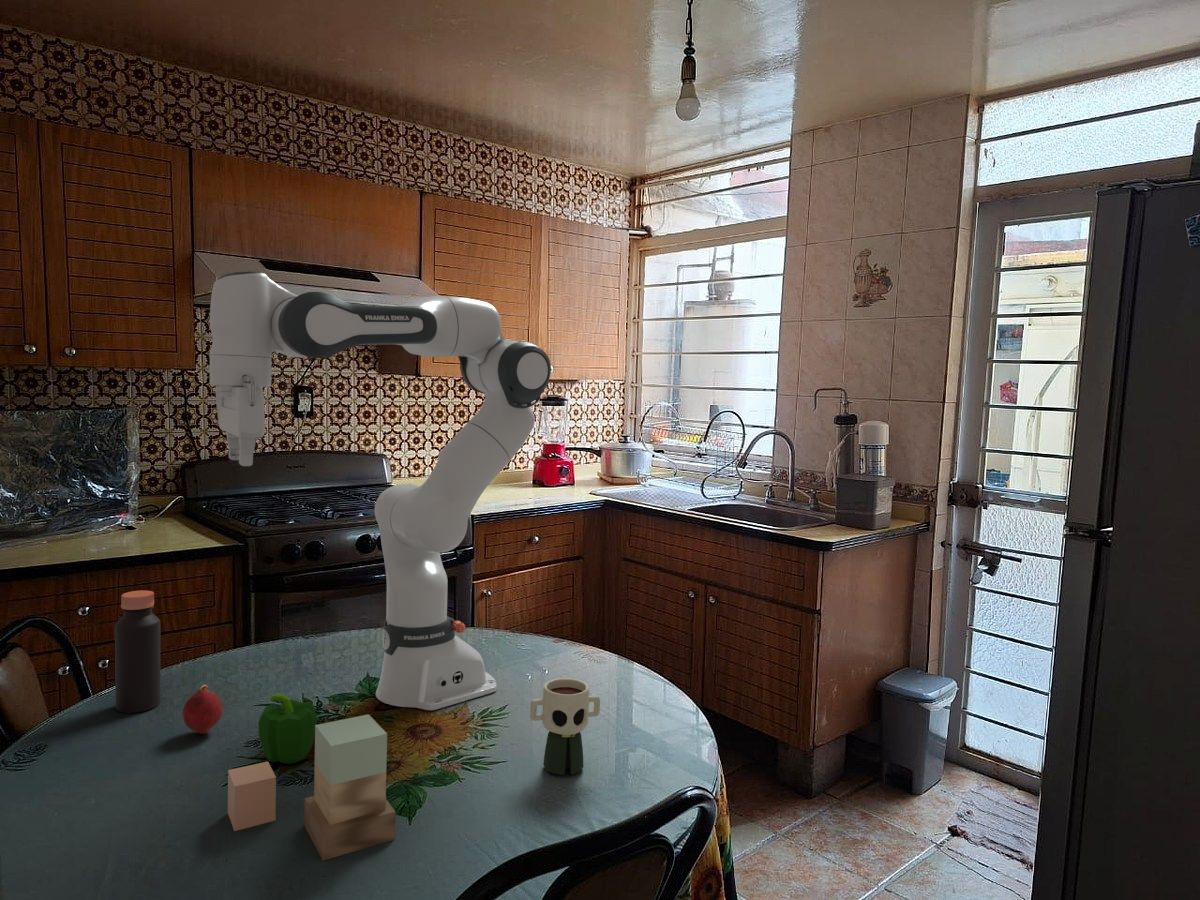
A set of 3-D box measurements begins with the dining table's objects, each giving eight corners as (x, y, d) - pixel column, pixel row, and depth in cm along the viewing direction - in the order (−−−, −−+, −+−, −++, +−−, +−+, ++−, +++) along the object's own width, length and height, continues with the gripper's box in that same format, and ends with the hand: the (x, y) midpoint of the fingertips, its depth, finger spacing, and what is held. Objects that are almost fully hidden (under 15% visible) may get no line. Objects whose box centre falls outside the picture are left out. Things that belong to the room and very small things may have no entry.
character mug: (532, 783, 116) (535, 697, 115) (524, 760, 123) (527, 679, 122) (603, 776, 119) (606, 693, 118) (592, 755, 126) (595, 676, 125)
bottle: (106, 709, 136) (105, 595, 134) (142, 695, 142) (141, 587, 141) (134, 716, 133) (133, 601, 132) (169, 702, 140) (169, 592, 138)
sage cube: (367, 750, 106) (368, 714, 106) (386, 771, 100) (387, 733, 100) (314, 762, 102) (315, 725, 102) (330, 785, 96) (331, 746, 96)
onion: (206, 743, 125) (206, 694, 124) (174, 738, 126) (174, 690, 125) (230, 728, 130) (230, 681, 130) (199, 724, 132) (199, 677, 131)
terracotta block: (267, 803, 108) (267, 761, 107) (275, 820, 104) (275, 777, 103) (227, 813, 105) (228, 770, 105) (234, 831, 101) (234, 786, 101)
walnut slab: (372, 809, 108) (372, 781, 108) (395, 841, 101) (395, 811, 100) (304, 827, 103) (304, 798, 103) (323, 863, 96) (323, 831, 95)
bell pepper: (327, 749, 124) (328, 687, 124) (297, 773, 116) (298, 707, 116) (280, 742, 126) (280, 681, 125) (247, 765, 118) (247, 700, 117)
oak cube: (367, 786, 106) (367, 750, 106) (385, 809, 101) (386, 771, 100) (314, 799, 102) (314, 762, 102) (330, 825, 97) (330, 785, 96)
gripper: (276, 376, 117) (275, 469, 118) (250, 375, 134) (250, 456, 135) (229, 374, 113) (229, 470, 114) (209, 374, 130) (209, 457, 131)
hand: (240, 462), depth 125 cm, fingers open, 8 cm apart
